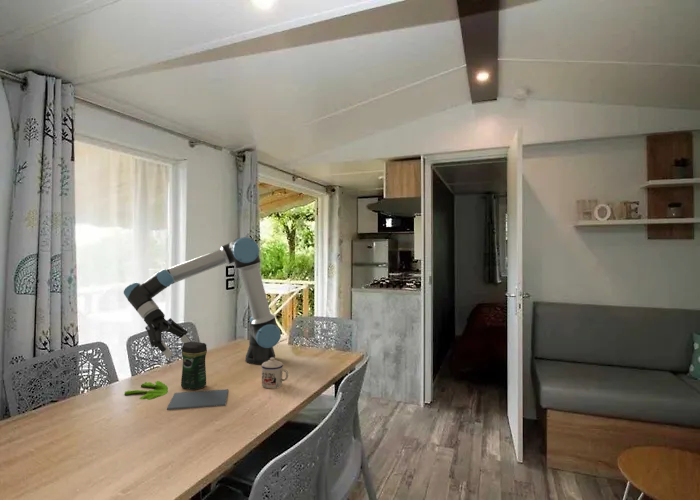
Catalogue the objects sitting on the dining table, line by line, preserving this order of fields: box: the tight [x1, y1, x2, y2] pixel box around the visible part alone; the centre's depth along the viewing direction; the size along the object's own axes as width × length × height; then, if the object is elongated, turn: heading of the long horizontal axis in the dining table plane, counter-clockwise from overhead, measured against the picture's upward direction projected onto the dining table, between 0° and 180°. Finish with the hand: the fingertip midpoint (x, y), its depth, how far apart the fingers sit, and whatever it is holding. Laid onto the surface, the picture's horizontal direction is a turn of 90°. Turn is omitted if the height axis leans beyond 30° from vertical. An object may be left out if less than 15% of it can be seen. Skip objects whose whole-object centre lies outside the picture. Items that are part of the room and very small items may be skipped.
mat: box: [166, 389, 229, 411], centre depth 147 cm, size 20×15×1 cm
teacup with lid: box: [260, 357, 289, 389], centre depth 164 cm, size 12×9×12 cm
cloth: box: [124, 380, 169, 401], centre depth 156 cm, size 20×22×2 cm
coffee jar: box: [180, 340, 208, 390], centre depth 161 cm, size 10×8×19 cm
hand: (181, 352), depth 161 cm, fingers open, 13 cm apart
